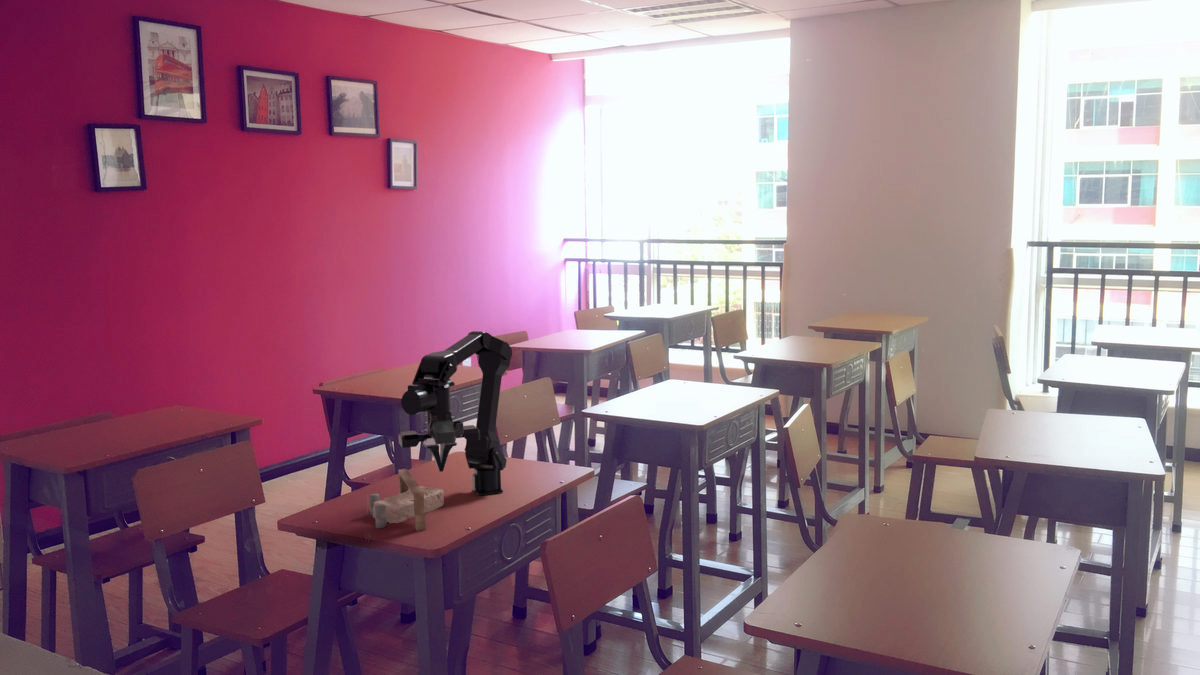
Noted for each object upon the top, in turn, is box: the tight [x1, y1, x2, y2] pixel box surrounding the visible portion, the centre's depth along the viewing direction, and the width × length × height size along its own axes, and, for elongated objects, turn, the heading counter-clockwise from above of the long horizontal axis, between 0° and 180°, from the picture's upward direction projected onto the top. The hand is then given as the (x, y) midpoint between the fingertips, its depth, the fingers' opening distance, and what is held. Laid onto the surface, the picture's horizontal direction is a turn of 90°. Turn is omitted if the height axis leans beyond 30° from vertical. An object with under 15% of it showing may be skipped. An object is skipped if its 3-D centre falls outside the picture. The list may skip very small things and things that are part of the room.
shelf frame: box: [368, 468, 426, 532], centre depth 221 cm, size 10×23×9 cm, turn 21°
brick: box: [372, 485, 445, 524], centre depth 226 cm, size 17×8×5 cm, turn 144°
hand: (440, 471), depth 224 cm, fingers closed
